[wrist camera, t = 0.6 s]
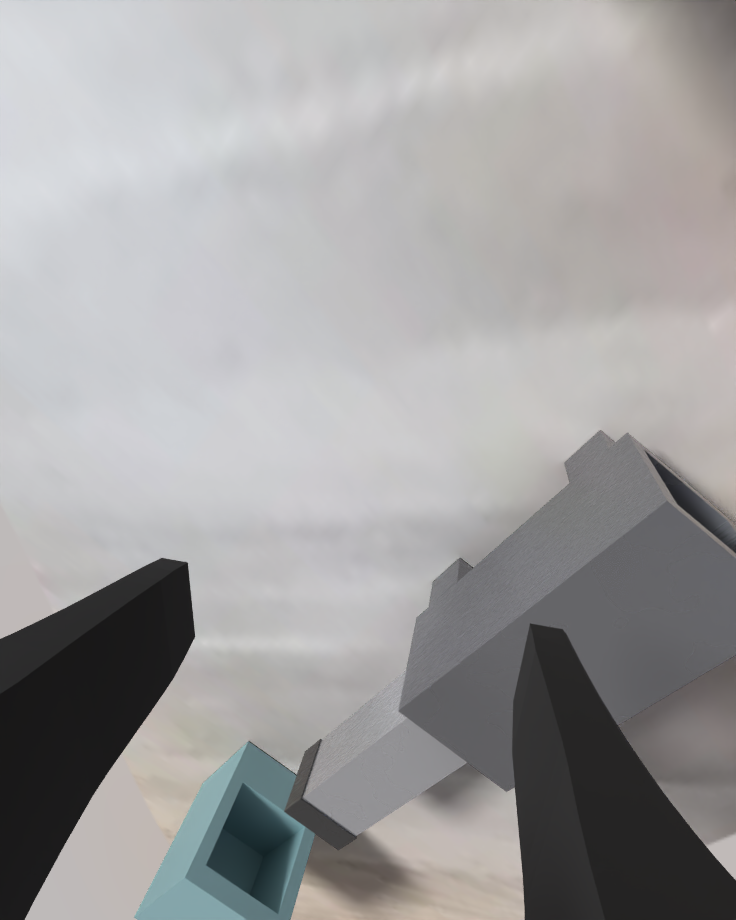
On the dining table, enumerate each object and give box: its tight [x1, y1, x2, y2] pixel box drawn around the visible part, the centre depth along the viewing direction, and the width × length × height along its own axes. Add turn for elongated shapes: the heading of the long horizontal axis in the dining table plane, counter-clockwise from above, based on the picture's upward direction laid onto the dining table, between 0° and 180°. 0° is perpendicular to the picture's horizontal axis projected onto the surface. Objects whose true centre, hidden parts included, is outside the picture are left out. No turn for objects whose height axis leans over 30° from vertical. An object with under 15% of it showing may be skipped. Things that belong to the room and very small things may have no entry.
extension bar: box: [284, 671, 467, 850], centre depth 19 cm, size 3×17×3 cm, turn 142°
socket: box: [134, 741, 315, 920], centre depth 27 cm, size 5×5×6 cm
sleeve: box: [398, 430, 736, 792], centre depth 18 cm, size 4×10×6 cm, turn 142°
